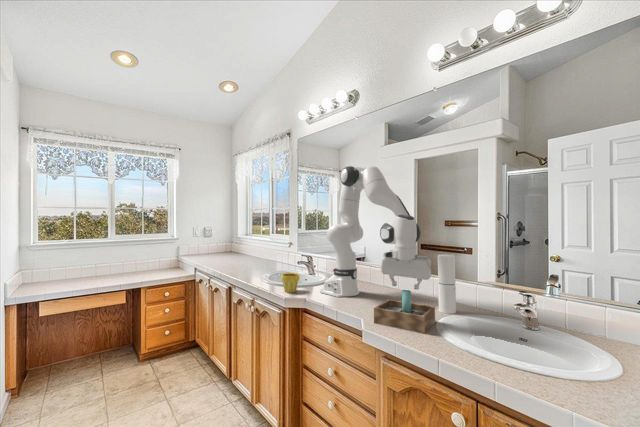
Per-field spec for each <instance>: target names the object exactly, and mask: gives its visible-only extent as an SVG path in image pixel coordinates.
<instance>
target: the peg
mask: <svg viewBox="0 0 640 427" xmlns="http://www.w3.org/2000/svg"><path fill="white" fill-rule="evenodd" d="M401 301H402V312H404V313H410V314H411V303H412V291H411V290H409V289H402V290H401Z"/></svg>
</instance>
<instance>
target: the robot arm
mask: <svg viewBox="0 0 640 427" xmlns="http://www.w3.org/2000/svg"><path fill="white" fill-rule="evenodd" d="M339 178H340V182H341V184H342V186H341V190H340V194H339V203H338V214H339V216H341V220H342V223H337V224H335V225H331V226H330V227H329V228H328V229H327V231H326V237H327V240H328V241H329V242H330V243H331V245H332V246H333V249H334V253H335V263H336V265H335V266H336V267H335V268H334V269H332V270H331V271H332V272H333V274H332V275H331V276H330V277H329V278H327V279H326V280H325V281H324V285H323V288H321V289H320V290H319V293H320V294H324V295H328V296H332V297H337V298H341V297H354V296H358V295H360V291H359V288H358V280H357V279H358V269H357V262H356V261H357V257H356V252H354V251H353V249H352V246H351V243H353V244H354V243H356V242H358V241H360V240H362V238H363V236H364V230H363V227H362V226H361V224H360V219H359V210H360V209H359V208H360V203H361V202H360V201H361V192H362V190H364V192H365V195H366V197H367V199H368V200H369V201H370V202H371V203H373V204H375V205H376V206H381V207H384V208H386V209H388V210H390V211H392V213H394V215H395V217H394V219H393V220H391V221H387V222H385V223H383V224H382V226H381V227H380V230H379V236H380V238H381V240H382V242H383V243H385V244H388V245H394V249H390V250H388V251H384V252H383V253H382V254H383V258H382V259H381V260H382V261H381V267H380V268H381V269H380V270H381V273H382V274H383V275H388V276H389V277H388V278H389V279H390V282H391V286H392V287H396V286H398V284H397V283H398V282H397V281H396V280H395V278H394V277H402V278H411V279H416V281H417V283H415V284H414V285H413V289H414V290H420V284H421V283H422V281H423V280H427V281H428V280H430V279H431V277H432V269H431V266H432V259H431V258H430V257H428V256H427V255H419V254H417V251H418V249H417V248H418V247H417V242H418V241H419V240H420V238H421V234H422V232H421V228H420V226H419V225H418V223H417V220H416V219H415V217H414V216H412V215H411V214H410V212H409V211H408V209H407V208H406V205H405V204H404V202H403V201H402V199H401V198H400V197H399V196H398V195H397V194H396V193H395V192H394V191H393V190H392V189H391V187H390V186H389V184H388V183H387V180H386V178H385V177H384V174H383V173H382V171H381V170H380V169H379V168H378V167H376V166H373V165H372V166H368V167H364V166H351V165H350V166H344V168H342V170H341V172H340V177H339Z"/></svg>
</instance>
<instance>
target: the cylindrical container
mask: <svg viewBox="0 0 640 427" xmlns="http://www.w3.org/2000/svg"><path fill="white" fill-rule="evenodd" d="M437 284H438V285H437V286H438V287H437V288H438V311H439V313H443V314H447V315H454V314H456V313H457V298H456V296H457V295H456V294H457V291H456V290H457V289H456V286H457V285H456V255H454V254H438V255H437Z"/></svg>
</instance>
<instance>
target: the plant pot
mask: <svg viewBox="0 0 640 427" xmlns="http://www.w3.org/2000/svg"><path fill="white" fill-rule="evenodd" d="M281 281H282V284H283V289H284V292H285V293H287V292H288V293H289V294H290V293H291V294H292V293H296V292H297V289H298V284H299V281H300V274H299V273H295V272H287V273H282V274H281Z"/></svg>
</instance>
